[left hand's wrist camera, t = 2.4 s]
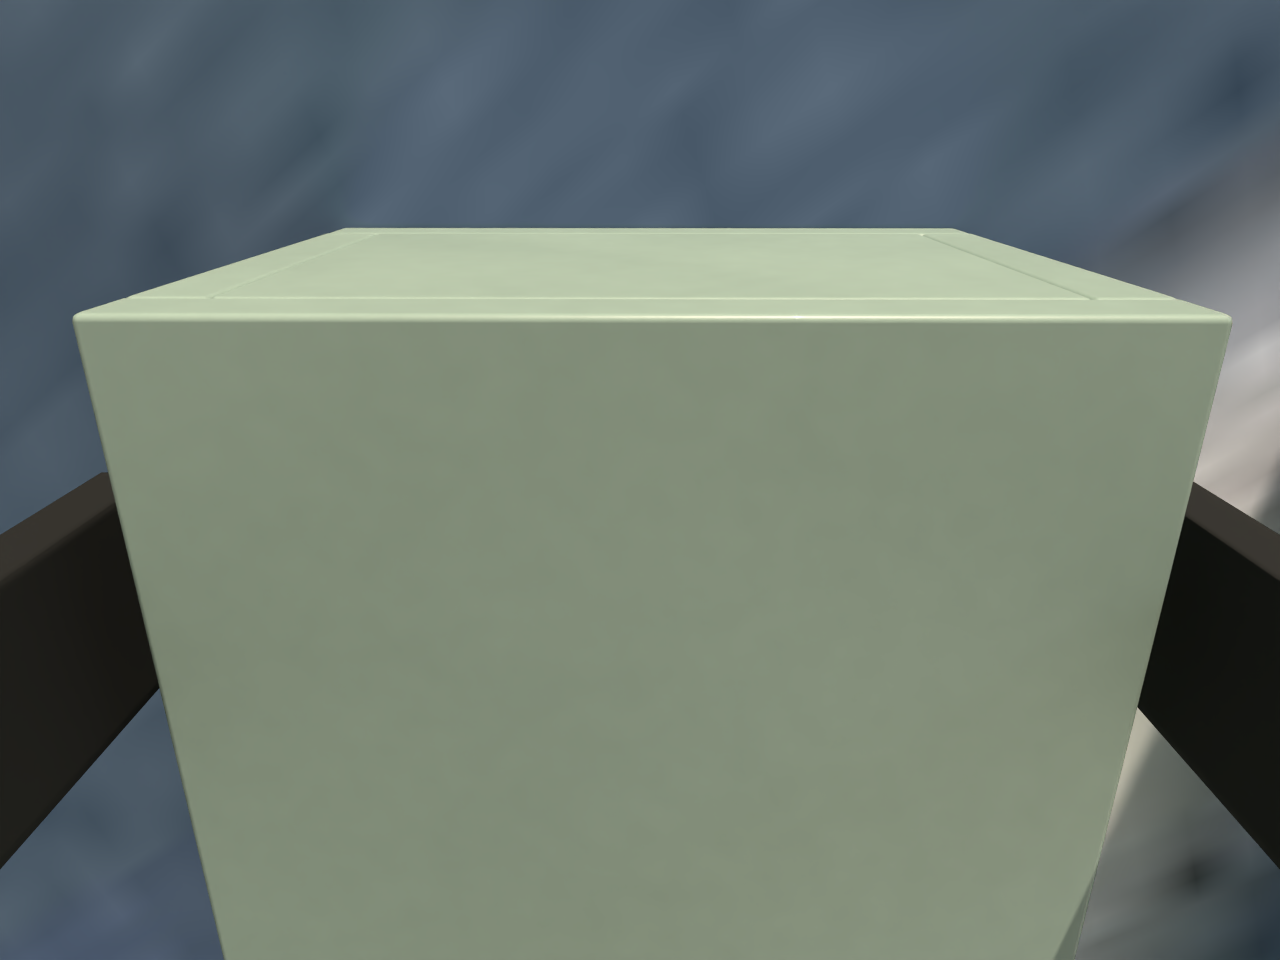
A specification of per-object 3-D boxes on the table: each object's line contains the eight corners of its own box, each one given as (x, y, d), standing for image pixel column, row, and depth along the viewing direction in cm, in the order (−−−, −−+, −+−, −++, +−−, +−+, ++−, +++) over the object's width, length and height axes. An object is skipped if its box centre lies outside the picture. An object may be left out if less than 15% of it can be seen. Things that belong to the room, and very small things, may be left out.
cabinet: (858, 996, 23) (962, 1420, 16) (433, 993, 23) (329, 1414, 16) (956, 227, 16) (1239, 314, 8) (341, 227, 16) (67, 314, 8)
